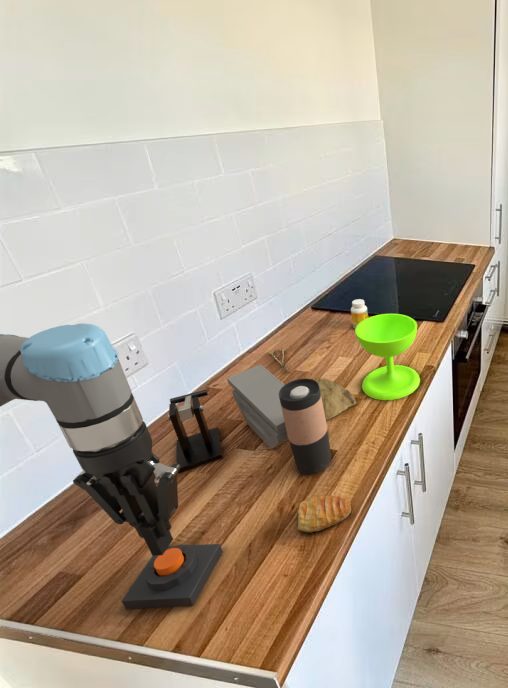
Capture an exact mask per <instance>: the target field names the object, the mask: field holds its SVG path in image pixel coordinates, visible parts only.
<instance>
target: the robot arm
mask: <svg viewBox="0 0 508 688" xmlns="http://www.w3.org/2000/svg"><path fill="white" fill-rule="evenodd" d="M14 400H22V401H32V402H44V403H46V405H47V407H48V408H49V410H50V412H51V413H52V415H53V417H54V419H55V421H56V423H57V425H58V427H59V428H60V431H61V433H62V435H63V437H64V438H65V440H66V443H67V445H68V446H69V448H71V450H72V453H73V455H74V457H75V458H76V460H77V462H78V464H79V466H80V468H81V469H82V471H81V472H80V473H79V474H78V475H76V477H75V478H74V479H72V483H73V484H74V485H75V486H77V487H79V488H81V489H82V490H84V491H85V492H86V493H87V494H88V495H89V496H90V497H91V499H93V500H94V502H95V503H97V505H98V506H99V507H101V509H102V510H103V511H104V512H105V513H106V514H107V515H108V516H109V518H111V520H112V521H113V522H114V523H115V524H117V525H123V524H124V523H128V525H129V526H131V527H134V529H135V531H136V533H137V535H138V536H139V537H140V538H141V539H143V540H144V542H145V543H146V545H147V548H148V550H149V551H150V554H151V557H152V556H155V555H163V554H164V552H165V551H166V549H167V548H168V546H171V543H172V542H173V541H174V537H173V535H172V533H171V530H172V525H171V522H170V520H171V518H172V517H173V515H174V514H175V512H176V511H177V510H178V508H179V493H178V492H179V491H178V474H179V473H178V472H179V470H180V468H181V466H180V465H179V464H177V463H175V462H174V463H172V464H171V465H170V466H169V465H166V464H163V463H161V462H160V461H161V460H160V458H159V457H158V455H157V456H156V454H155V453H153V438H152V436H151V433H150V430H149V429H148V427H147V424H146V422H145V421H144V420H143V419H144V418H143V415H142V413H141V411H140V408H139V406H138V403H137V401H136V399H135V396H134V394H133V391H132V389H131V386H130V384H129V381H128V378H127V377H126V374H125V371H124V368H123V366H122V364H121V361H120V359H119V353H118V351H117V350H116V348H115V347H114V346H113V345H112V343H111V341H110V339H109V337H108V334H107V333H106V331H105V330H104V329H103V328H102V327H100V326H98V325H96V324H92V323H76V324H63V325H59V326H58V325H57V326H53V327H50V328H48V329H44V330H42V331H38V332H37V333H35V334H33V335H31V336H30V337H26V336H19V335H15V334H10V333H8V334H3V333H0V407H2V406H5V405H7V404H8V403H10V402H12V401H14Z"/></svg>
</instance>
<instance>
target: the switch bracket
mask: <svg viewBox="0 0 508 688" xmlns="http://www.w3.org/2000/svg"><path fill="white" fill-rule="evenodd" d="M199 399H200V398H198V397H194V398H192V408H193V411H194V418H195V420H196V423H197V425H198V429H199V432H198V433H194V434H192V435H189V436H188V433H187V431H186V429H185V426H184V423H183V421H181V420H180V417H179V413H178V409H179V408H178V407H177V404H175V403H172V404H171V403H169V404H168V405H169V406H168V407H169V408H168V409H169V410H168V414H167V419H168V421H170V422H171V425H172V427H173V430H174V433H175V435H176V438H177V439H176V463H177V464H179V465H180V466H181V468H180V470H179V472H178V473H177V474H181V473H182V472H183V473H184V472H186V471H189V470H192V469H194V468H198V467H200V466H205V465H206V464H210V463H213V462H215V461H218V460H222V459H223V451H222V442H221V433H220V429H219V427H214V428H210V429H209V425H208V423H207V420H206V418H205V414H204V411H205V409H204V405H203V404H201V402H200V400H199Z"/></svg>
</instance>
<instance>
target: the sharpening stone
mask: <svg viewBox="0 0 508 688" xmlns="http://www.w3.org/2000/svg"><path fill="white" fill-rule="evenodd" d="M226 381H227V384H228V385H230V387H231V388H232V389H233V390H231V394H232V396H233V399H234V401H235V402H236V405H237V407H238V409H239V410H240V413H241V414H242V416H243V418H244V419H245V421H246V424H247V425H248V426H249V428H250V429H251V430H252V431H253V432H254V433H255V434H256V435H257V436H258V437H259V438H260V439H261V440H262V441H263V442H264V444H266V445H267V446H268V448H269V449H271V450H273V449H274V448H276V447H278V446H280V445H282V444H283V443H285V442H288V441H289V440H288V435H287V431H286V426H285V422H284V417H283V413H282V408H281V403H280V399H279V391H280V389H281V388H282V387H283V386H284V385H285V383H284V382H282V381H281V380H280V379H279V378H277V376H275V375H274V374H273V373H271V372H270V371H269V370H268V369H267V368H265V367H264V366H263V365H262V364H258V365H255V366H253V367H250V368H248V369H244V370H243V371H241V372H240V371H239V372H238V373H236V374H233V375H230V376H228V377H226Z"/></svg>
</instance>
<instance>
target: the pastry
mask: <svg viewBox="0 0 508 688" xmlns="http://www.w3.org/2000/svg"><path fill="white" fill-rule="evenodd" d="M297 511H298V512H297V513H298V516H297V518H298V519H297V525H298V526H297V529H298V531H300V532H305V533H313V532H319V531H322V530H325V529H327V528H330V527H332V526H335V525H337V524H339V523H340V522H342V521H344V519H346V518H347V517H348V516H350V514H351V512H352V506H351V500H350V499H347V497H342V496H340V495H335V496H334V495H332V494H329V495H325V494H324V495H323V494H321V495H319V496H318V497H317V496H310V497H309V498H308V499H307V500H304V501H301V502H300V503H299V506H298V510H297Z"/></svg>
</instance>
